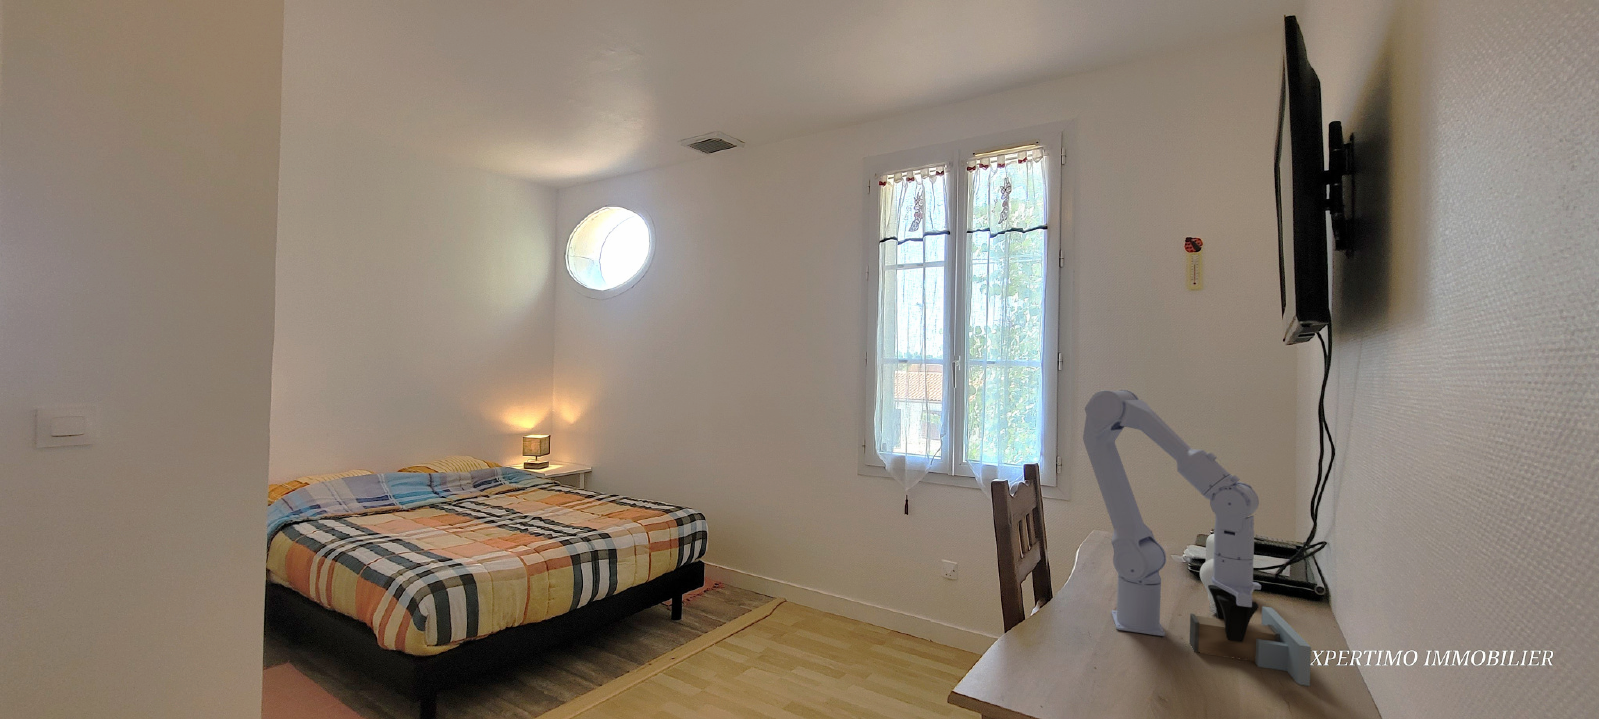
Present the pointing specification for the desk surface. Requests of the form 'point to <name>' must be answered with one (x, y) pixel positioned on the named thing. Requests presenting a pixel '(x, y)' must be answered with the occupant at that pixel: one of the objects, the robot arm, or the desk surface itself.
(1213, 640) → the half pipe ramp
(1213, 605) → the light bulb
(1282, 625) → the grey footed slab
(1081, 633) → the desk surface
